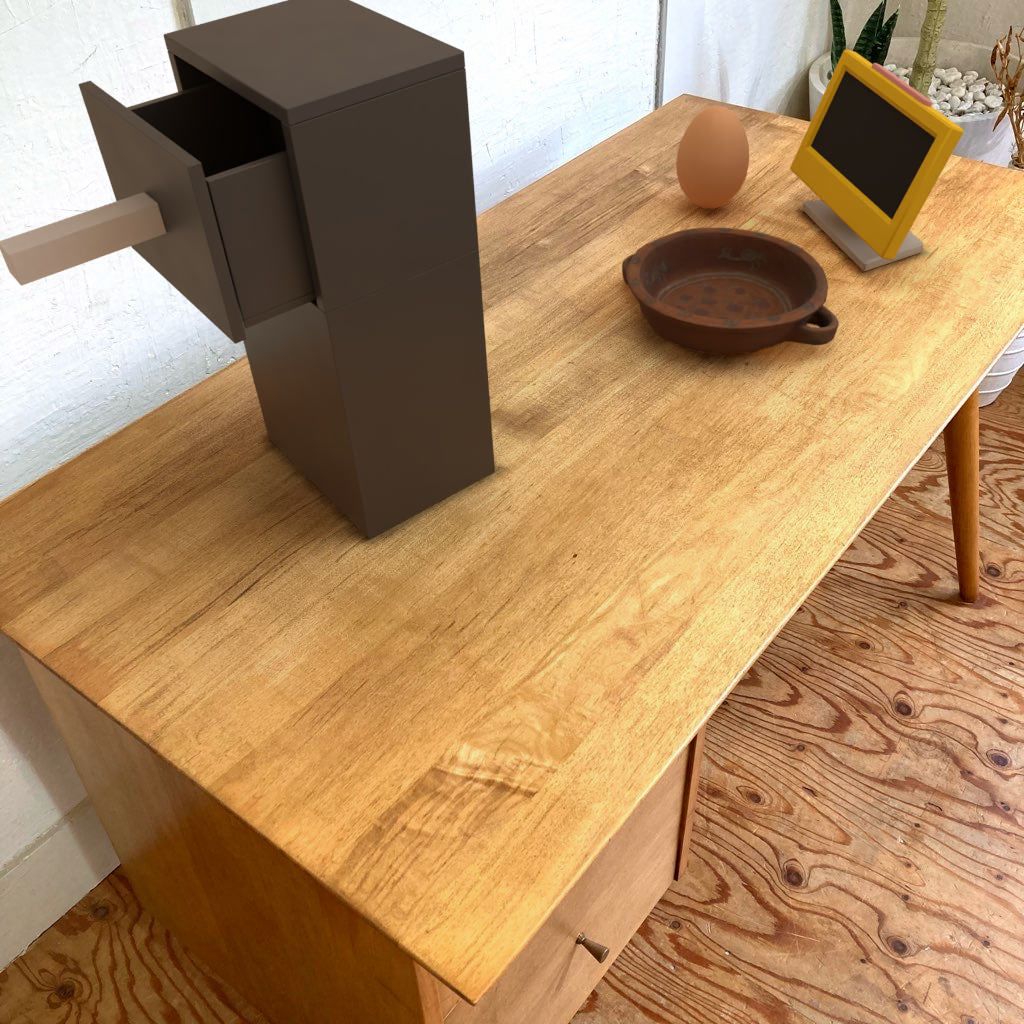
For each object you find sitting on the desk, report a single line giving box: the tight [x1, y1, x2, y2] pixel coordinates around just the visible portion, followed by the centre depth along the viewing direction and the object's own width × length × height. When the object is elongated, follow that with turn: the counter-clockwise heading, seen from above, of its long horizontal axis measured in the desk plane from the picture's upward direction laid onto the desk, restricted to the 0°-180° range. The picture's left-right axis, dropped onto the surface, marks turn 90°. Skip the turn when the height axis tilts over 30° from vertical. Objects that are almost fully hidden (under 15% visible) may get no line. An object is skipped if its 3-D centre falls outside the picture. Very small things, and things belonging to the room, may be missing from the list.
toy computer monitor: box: [789, 48, 964, 272], centre depth 104 cm, size 20×8×16 cm, turn 14°
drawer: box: [0, 80, 316, 345], centre depth 64 cm, size 21×16×11 cm
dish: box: [621, 227, 839, 356], centre depth 97 cm, size 18×22×5 cm
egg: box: [675, 105, 750, 210], centre depth 111 cm, size 8×8×11 cm
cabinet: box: [163, 0, 496, 540], centre depth 75 cm, size 12×16×33 cm
